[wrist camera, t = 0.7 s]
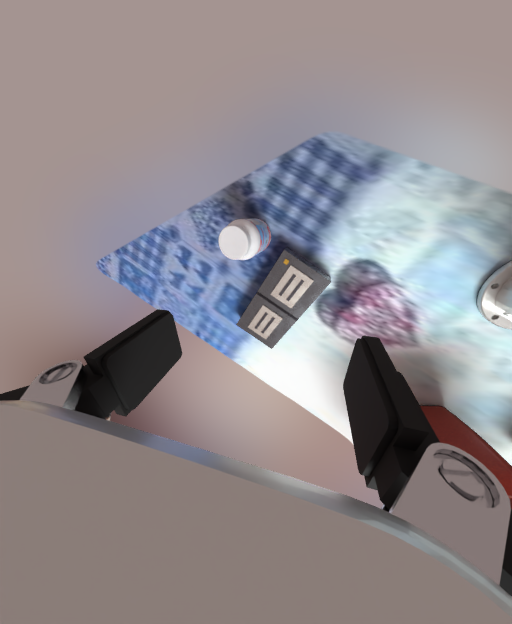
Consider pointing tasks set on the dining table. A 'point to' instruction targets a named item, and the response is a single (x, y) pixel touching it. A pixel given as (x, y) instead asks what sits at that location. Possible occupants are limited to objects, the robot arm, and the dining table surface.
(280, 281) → the panel
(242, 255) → the pill bottle
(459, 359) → the dining table surface
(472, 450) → the plant pot
